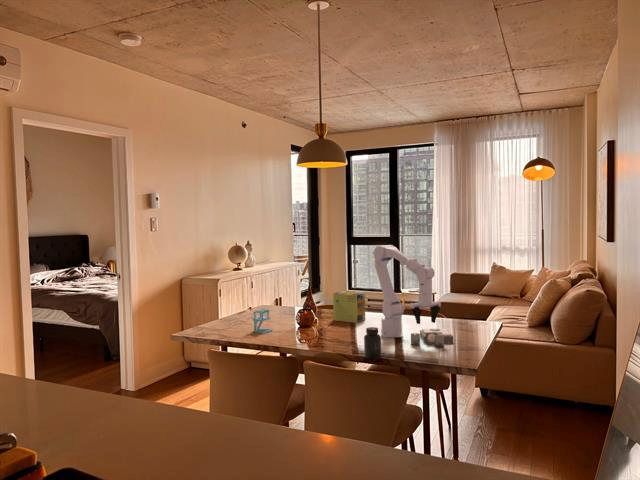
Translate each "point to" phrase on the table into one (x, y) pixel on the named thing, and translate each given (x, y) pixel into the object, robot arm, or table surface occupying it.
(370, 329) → the supplement bottle
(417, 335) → the cylinder
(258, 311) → the teal open frame stand
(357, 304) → the protein box
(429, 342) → the scale
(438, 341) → the cylinder
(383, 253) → the robot arm
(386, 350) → the table surface
